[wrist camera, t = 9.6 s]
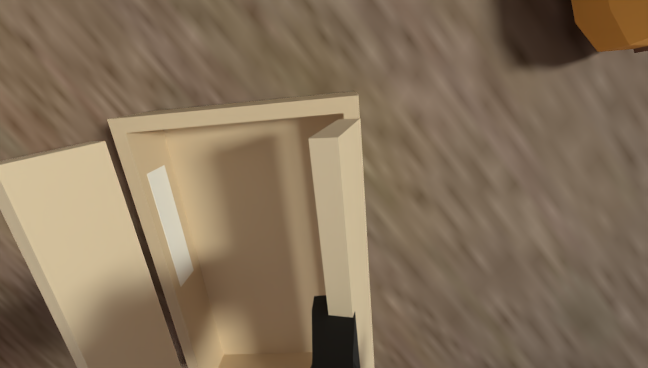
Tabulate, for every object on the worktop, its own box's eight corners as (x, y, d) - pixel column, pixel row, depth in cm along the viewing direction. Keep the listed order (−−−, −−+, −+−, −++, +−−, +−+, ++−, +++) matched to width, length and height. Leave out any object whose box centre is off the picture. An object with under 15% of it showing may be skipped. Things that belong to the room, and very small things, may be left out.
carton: (355, 91, 14) (358, 95, 11) (370, 352, 19) (375, 399, 17) (150, 111, 15) (106, 119, 12) (218, 356, 20) (198, 401, 18)
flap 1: (-7, 166, 9) (-22, 165, 9) (144, 485, 13) (131, 478, 14) (105, 141, 11) (91, 141, 12) (196, 413, 16) (185, 408, 16)
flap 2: (347, 483, 13) (366, 489, 13) (308, 138, 8) (337, 137, 8) (360, 407, 16) (376, 411, 15) (337, 119, 11) (360, 118, 11)
